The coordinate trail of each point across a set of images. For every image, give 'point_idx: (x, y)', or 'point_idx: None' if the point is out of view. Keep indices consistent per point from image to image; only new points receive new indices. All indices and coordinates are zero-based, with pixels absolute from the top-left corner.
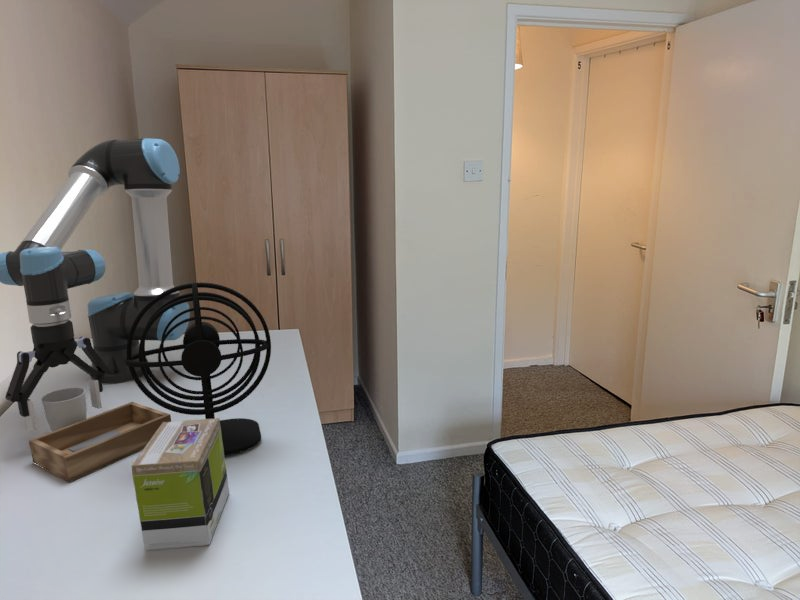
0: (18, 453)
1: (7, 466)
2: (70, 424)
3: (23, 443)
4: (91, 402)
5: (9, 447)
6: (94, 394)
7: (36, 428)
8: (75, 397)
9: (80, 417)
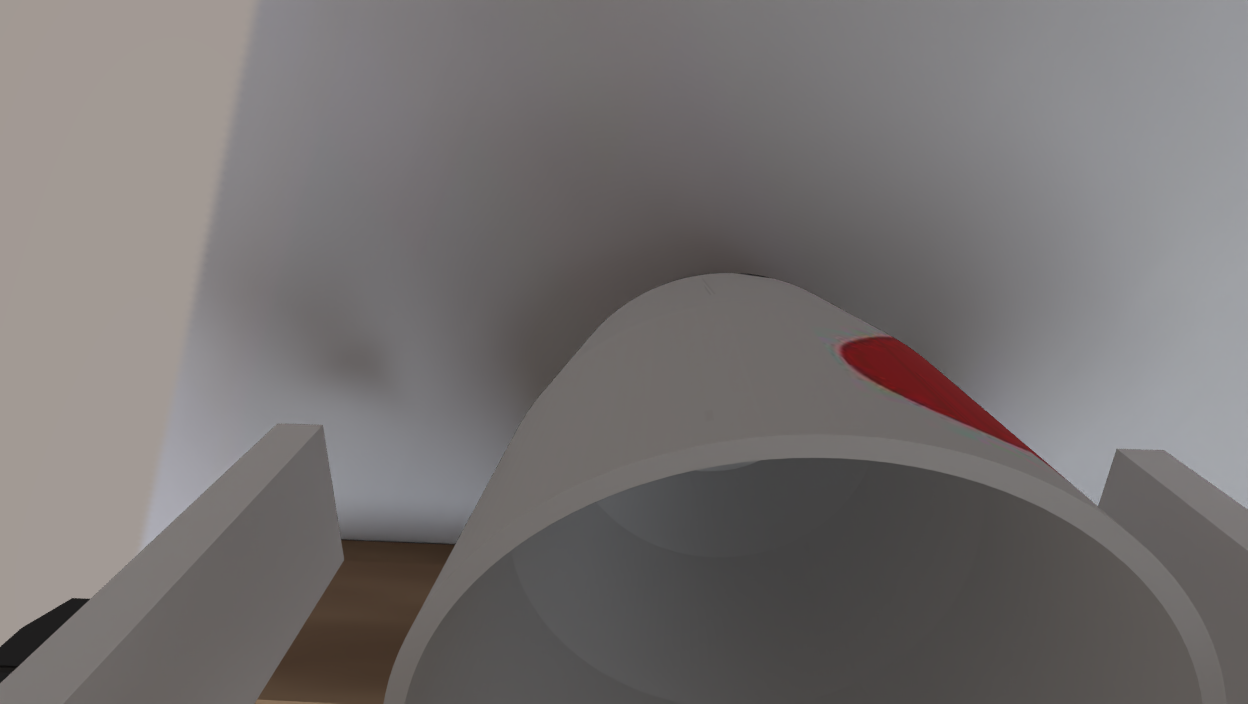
0: (297, 270)
1: (174, 422)
2: (656, 630)
3: (400, 81)
4: (1157, 484)
5: (276, 44)
6: (1239, 700)
7: (327, 576)
8: (1047, 519)
9: (771, 679)
